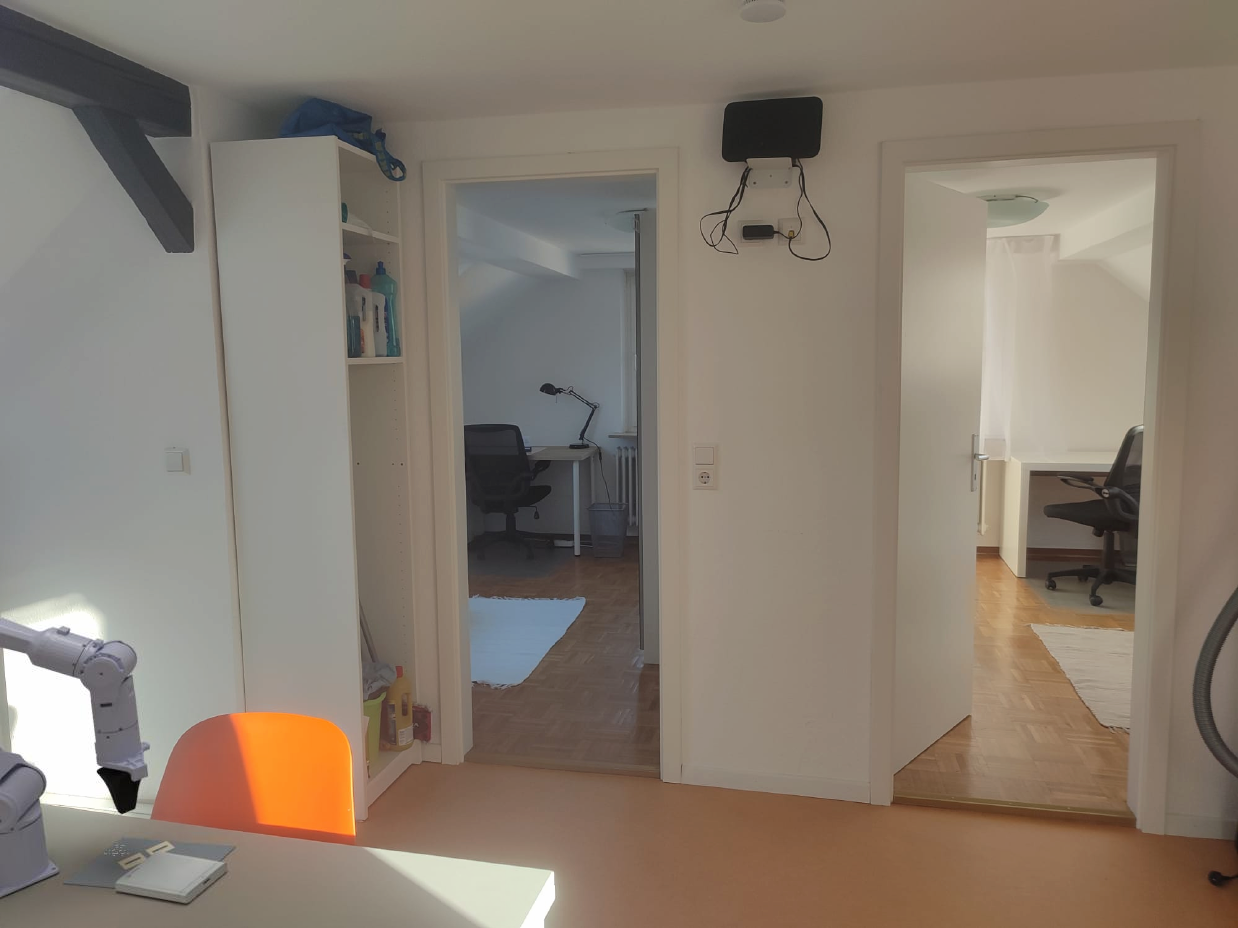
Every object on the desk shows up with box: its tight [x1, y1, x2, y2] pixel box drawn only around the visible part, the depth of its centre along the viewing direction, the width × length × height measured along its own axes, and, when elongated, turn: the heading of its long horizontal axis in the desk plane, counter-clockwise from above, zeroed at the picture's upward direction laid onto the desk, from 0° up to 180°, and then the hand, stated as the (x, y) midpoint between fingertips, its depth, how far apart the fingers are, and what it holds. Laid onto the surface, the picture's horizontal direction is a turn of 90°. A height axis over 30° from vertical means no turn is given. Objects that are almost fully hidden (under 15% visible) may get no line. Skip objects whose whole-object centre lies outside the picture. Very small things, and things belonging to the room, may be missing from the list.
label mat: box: [62, 837, 237, 889], centre depth 133 cm, size 20×12×1 cm, turn 80°
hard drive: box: [114, 851, 228, 904], centre depth 128 cm, size 2×8×12 cm
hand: (126, 810), depth 133 cm, fingers closed
